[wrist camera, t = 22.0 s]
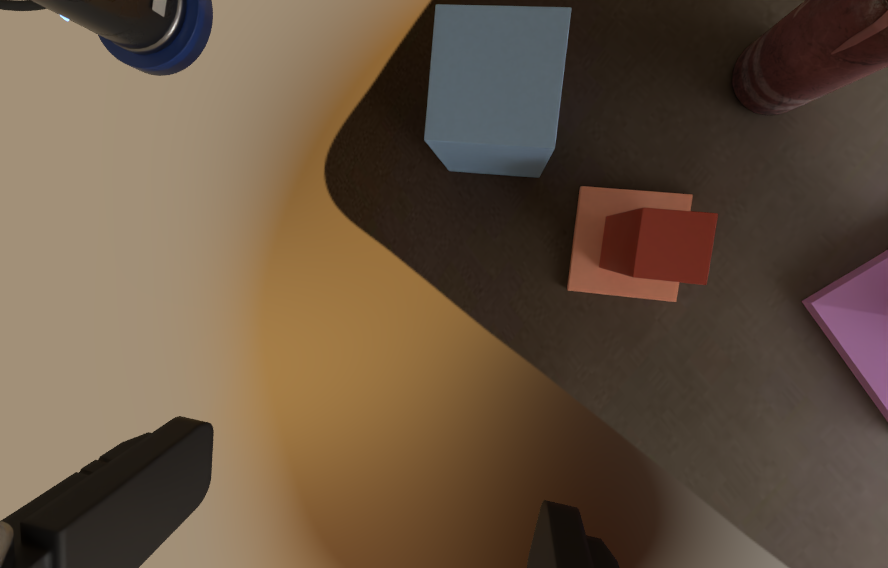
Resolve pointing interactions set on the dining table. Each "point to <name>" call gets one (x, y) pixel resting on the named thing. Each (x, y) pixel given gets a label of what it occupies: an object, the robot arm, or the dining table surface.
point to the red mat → (590, 236)
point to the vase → (859, 324)
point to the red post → (659, 244)
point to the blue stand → (496, 87)
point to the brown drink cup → (812, 54)
